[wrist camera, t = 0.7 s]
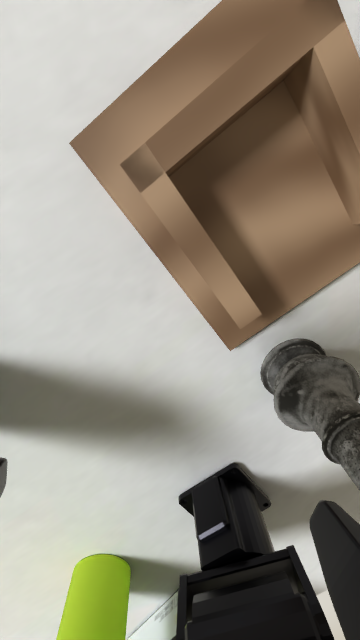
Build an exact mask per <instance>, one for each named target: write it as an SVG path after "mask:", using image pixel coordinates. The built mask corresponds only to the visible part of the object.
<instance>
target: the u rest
mask: <svg viewBox="0 0 360 640" xmlns="http://www.w3.org/2000/svg"><path fill="white" fill-rule="evenodd" d="M69 144H70V145H71V146H72V147H73V149H74V150H75V151H76V153H77V154H78V155H79V156H80V158H81V159H82V160H83V162H84V163H85V164H86V165H87V167H88V168H89V169H90V171H91V172H92V173H93V175H94V176H95V177H96V178H97V180H98V181H99V182H100V184H101V185H102V186H103V187H104V189H105V190H106V191H107V193H108V194H109V195H110V196H111V198H112V199H113V200H114V202H115V203H116V204H117V206H118V207H119V208H120V209H121V211H122V212H123V213H124V215H125V216H126V217H127V218H128V220H129V221H130V222H131V224H132V225H133V226H134V227H135V229H136V230H137V231H138V233H139V234H140V235H141V237H142V238H143V239H144V240H145V242H146V243H147V244H148V246H149V247H150V248H151V249H152V251H153V252H154V253H155V255H156V256H157V257H158V258H159V260H160V261H161V262H162V264H163V265H164V266H165V267H166V269H167V270H168V271H169V273H170V274H171V275H172V277H173V278H174V279H175V280H176V282H177V283H178V284H179V286H180V287H181V288H182V289H183V291H184V292H185V293H186V295H187V296H188V297H189V298H190V300H191V301H192V302H193V304H194V305H195V306H196V308H197V309H198V310H199V311H200V313H201V314H202V315H203V317H204V318H205V319H206V320H207V322H208V323H209V324H210V326H211V327H212V328H213V329H214V331H215V332H216V333H217V335H218V336H219V337H220V339H221V340H222V341H223V342H224V344H225V345H226V346H227V348H228V349H229V350H230V351H231V350H232V349H234V348H235V347H237V346H238V345H240V344H241V343H243V342H244V341H246V340H247V339H248V338H250V337H251V336H253V335H254V334H256V333H257V332H259V331H260V330H262V329H263V328H265V327H266V326H267V325H269V324H270V323H272V322H273V321H275V320H276V319H278V318H279V317H281V316H282V315H284V314H285V313H286V312H288V311H289V310H291V309H292V308H294V307H295V306H297V305H298V304H300V303H301V302H303V301H304V300H305V299H307V298H308V297H310V296H311V295H313V294H314V293H316V292H317V291H319V290H320V289H322V288H323V287H324V286H326V285H327V284H329V283H330V282H332V281H333V280H335V279H336V278H338V277H339V276H341V275H342V274H343V273H345V272H346V271H348V270H349V269H351V268H352V267H354V266H355V265H357V264H358V263H360V58H359V56H358V53H357V51H356V48H355V45H354V43H353V40H352V38H351V35H350V32H349V30H348V27H347V25H346V22H345V19H344V17H343V14H342V12H341V9H340V6H339V4H338V1H337V0H222V1H221V2H220V3H219V4H218V5H217V6H216V7H215V8H213V9H212V10H211V11H210V12H209V13H208V14H207V15H206V16H205V17H204V18H203V19H202V20H201V21H200V22H198V23H197V24H196V25H195V26H194V27H193V28H192V29H191V30H190V31H189V32H188V33H187V34H186V35H185V36H183V37H182V38H181V39H180V40H179V41H178V42H177V43H176V44H175V45H174V46H173V47H172V48H171V49H169V50H168V51H167V52H166V53H165V54H164V55H163V56H162V57H161V58H160V59H159V60H158V61H157V62H156V63H154V64H153V65H152V66H151V67H150V68H149V69H148V70H147V71H146V72H145V73H144V74H143V75H142V76H141V77H139V78H138V79H137V80H136V81H135V82H134V83H133V84H132V85H131V86H130V87H129V88H128V89H127V90H126V91H124V92H123V93H122V94H121V95H120V96H119V97H118V98H117V99H116V100H115V101H114V102H113V103H112V104H111V105H109V106H108V107H107V108H106V109H105V110H104V111H103V112H102V113H101V114H100V115H99V116H98V117H97V118H96V119H94V120H93V121H92V122H91V123H90V124H89V125H88V126H87V127H86V128H85V129H84V130H83V131H82V132H81V133H79V134H78V135H77V136H76V137H75V138H74V139H73V140H72V141H71V142H70V143H69Z"/></svg>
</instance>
